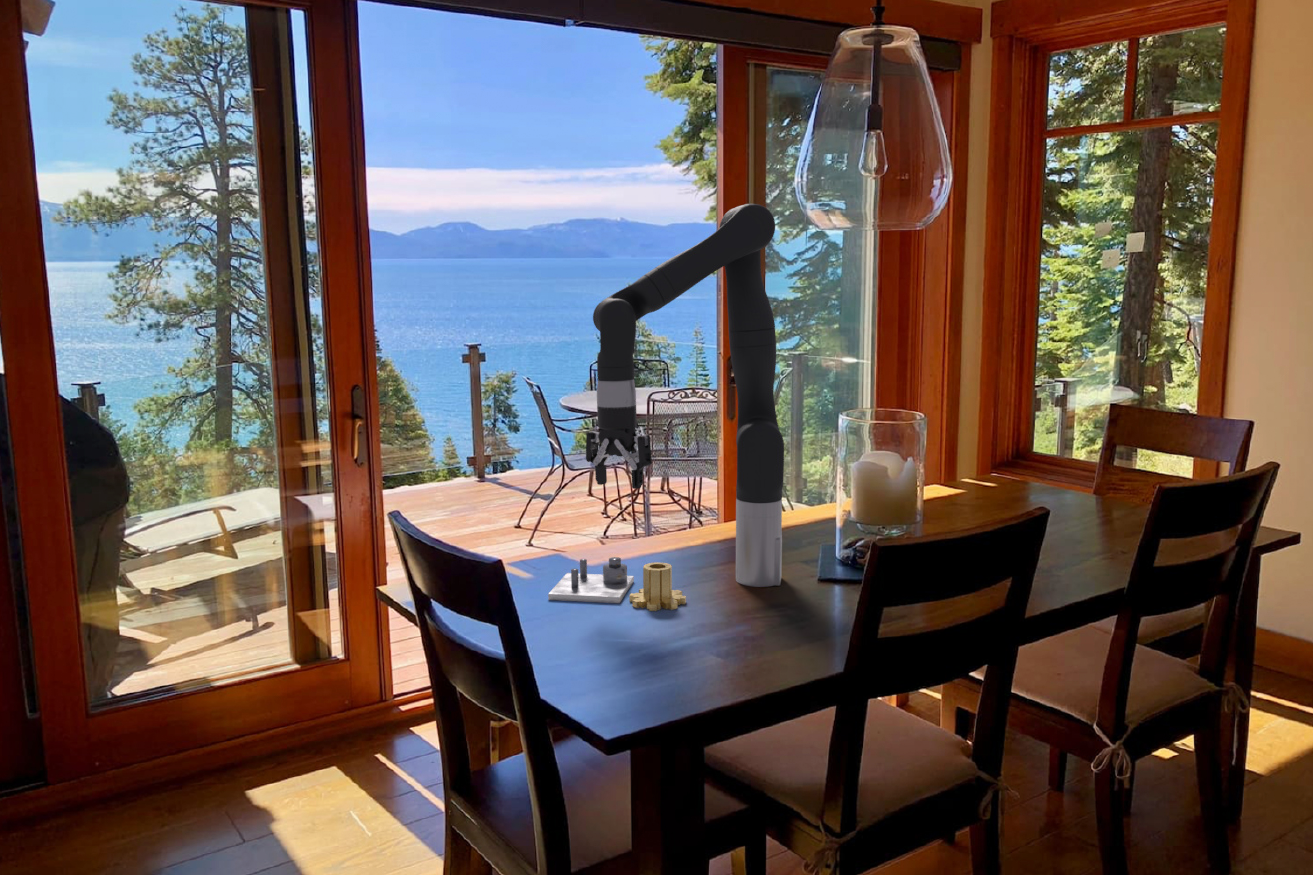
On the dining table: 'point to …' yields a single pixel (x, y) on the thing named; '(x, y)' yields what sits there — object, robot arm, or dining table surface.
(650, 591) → the planet gear
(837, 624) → the dining table surface
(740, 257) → the robot arm
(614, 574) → the plate
